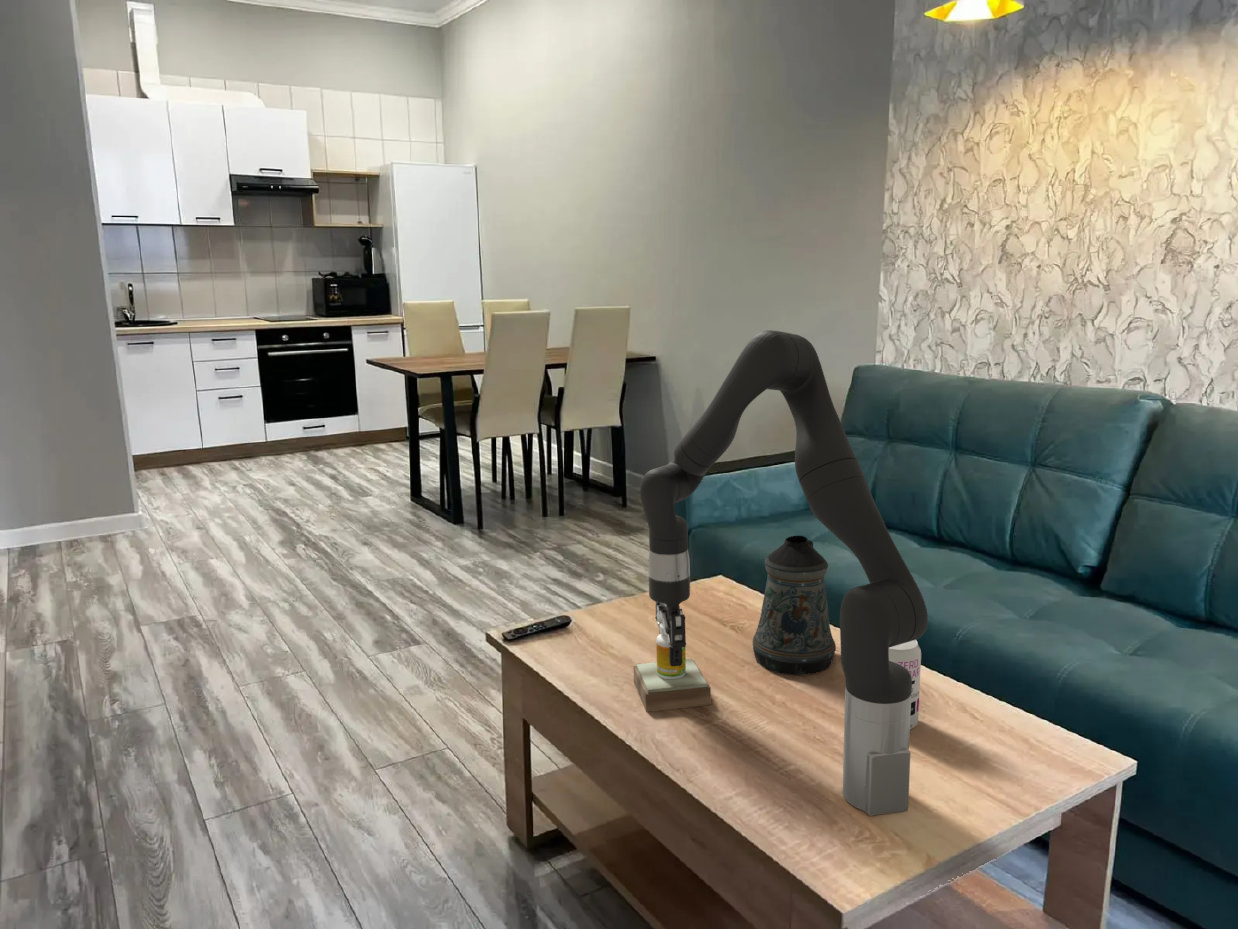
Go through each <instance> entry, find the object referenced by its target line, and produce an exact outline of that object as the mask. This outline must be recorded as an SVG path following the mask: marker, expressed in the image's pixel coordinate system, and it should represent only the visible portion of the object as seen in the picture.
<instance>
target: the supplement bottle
mask: <svg viewBox="0 0 1238 929" xmlns="http://www.w3.org/2000/svg"><path fill="white" fill-rule="evenodd" d="M668 629H671V628H668ZM660 633H661V634H659V633H658V636H657V637H656V642H655V643H656V644H655V645H656V662H657V674H658V675H659V676H660V677H661V678H664V679H679V678H681V677H683V676H684V675H685V673H686V659H687V658H686V657H687V656H686V647H682V665H681V666H671V665H670V661H669V644H668V643H669V641H668V636H666V635H665V633H664V626H663V623H661V624H660ZM675 640H679V637H678V635H676V636H675Z"/></svg>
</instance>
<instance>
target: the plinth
mask: <svg viewBox="0 0 1238 929" xmlns="http://www.w3.org/2000/svg"><path fill="white" fill-rule="evenodd" d="M633 684H634V686H635V688H636V690H637V694H638V696H639V697H640V700H641V702H642V705H643V708H644V710H645V712H646V713H649V712H659V711H667V710H676V709H686V708H696V707H703V706H711V705H712V700H711V699H712V698H711V697H712V696H711V695H712V694H711V692H712V689H711V686H710V683H708V681H707V679H706V678H705V676H704V674H703V673H702V671H701V669H700V668H699V666H698V664H697V663H696V661H695V659H693V658H686V673H685V675H684V676H683V677H681V678H679V679H664V678H661V677H660V676H659V675H658V674H657V661H655V662H647V663H637V664H636V665H634V666H633Z"/></svg>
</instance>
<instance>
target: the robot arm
mask: <svg viewBox="0 0 1238 929" xmlns="http://www.w3.org/2000/svg"><path fill="white" fill-rule="evenodd" d="M821 364H822V363H821V361H820V358H819V356H818V353H817V350H816V349H815V347H814V346H813V344H812V342H810V340H809V339H807V338H805V337H804V336H801V335H799V334H796V333H790V332H785V331H780V330H772V329H770V330H763V331H759V332H758V333H756V334H755V335H754V336H753V337H752V338H750V340H749V341H748V342H747V344H745V347H744V348H743V349H742V350H741V352H740V354H739V355H738V357H737V359H736V361H735V362H734V364H733V366H732V367H731V370H730V371H729V373H728V375H726V377H725V379H724V381H723V382H722V384H721V386H720V387H719V389H718V390H717V392H716V394H715V395H714V397H713V399H712V400H711V402H710V403H709V405H708V407H707V408H706V409H705V411H704V412H703V413H702V415H701V416H699V418H698V419H697V420H696V422H695V423H694V424H693V425H692V426H691V427H690V429H689V430H688V431H687V432H686V433H685V434H684V436H683V437H682V438H681V439H680V440H679V441H678V443H677V444H676V446H675V448H674V451H673V456H674V458H673V459H672V460H671V461H670V462H669V463H668V464H666V465H662V466H659V467H655V468H653V469H650V470H648V471H647V472H646V473H645V474H644V475H643V477H642V479H641V483H640V489H639V495H640V500H641V505H642V508H643V512H644V516H645V520H646V523H647V524H648V529H649V530H648V531H649V532H648V538H649V539H648V541H649V543H648V545H649V551H648V552H649V554H648V564H647V565H648V595H649V598H650V599H651V600H652V601H653V602H655V620H656V622H657V627H658V635H659V634H661V633H660V624H661V623H663V626H664V633H665V635H666V636H668V641H669V643H668V644H669V661H670V665H671V666H681V665H682V647H685V648H686V645H687V642H686V640H687V639H686V636H687V635H686V616H685V614H683V608H681V607H680V604H681V603H682V602H686V601H687V600H688V599H689V598H690V596H691V571H690V570H691V569H690V568H691V566H690V561H691V560H690V554H689V530H688V529H689V528H688V523H687V520H686V519H685V518H683V517H682V516H679V515H677V514H676V511H675V504H676V503H677V504H678V503H679V502H682V501H685V500H686V499H688V498H689V497H690V496H691V495H693V493H694V492H695V491H696V490H697V489H698V487H699V486H700V484H701V483H702V481H703V480H704V478H705V476H706V475H707V474H706V473H707V471H709V470H710V469H711V467H712V466H713V465H715V463H716V462H717V461H718V460H719V459H720V458H721V457H722V456H723V454H724V453H725V452H726V451H727V450H728V449H729V447H730V446H731V444H732V443H733V441H734V439H735V437H736V434H737V430H738V426H739V423H740V420H741V418H742V415H743V413H744V412H745V410H746V409H747V408H748V407H749V405H750V404H751V403H752V402H753V401H754V400H755V399H757V398H758V397H759V396H760V395H761V394H762V393H764V392H765V391H766V390H772V391H779V392H781V394H782V396H783V397H784V400H785V401H786V404H787V406H788V408H789V410H790V413H791V415H792V417H793V421H794V424H795V430H796V431H795V432H796V433H795V434H796V436H795V437H796V439H795V447H794V448H795V450H794V466H795V467H794V470H795V472H796V477H797V480H798V482H799V485H800V487H801V489H802V493H803V495H804V498H805V500H806V502H807V505H808V506H809V509H810V510H811V512H812V514H813V515H814V516H815V517H816V519H817V520H819V522H820V523H821V524H822V525H823V526H825V528H827V529H828V530H829V531H830V532H831V533H832V534H833V535H834V536H835V537H836V538H838V540H840V541H841V542H842V543H843V544H844V545H845V546H846V547H847V548H848V549H849V550H850V551H851V552H852V553H853V554H854V555H855V557H856V559H857V560H858V561H859V563H860V565H861V567H862V569H863V571H864V574H865V575H866V577H867V579H868V582H869V583H868V584H863V585H860V586H856V587H852V588H850V589H849V590H848V591H846V593H845V594H844V596H843V598H842V600H841V603H840V604H841V605H840V610H839V634H840V636H839V637H840V638H839V639H840V640H839V642H840V664H841V667H842V672H843V674H844V677H845V678H844V679H845V684H844V685H845V686H844V687H845V688H844V689H845V690H844V692H845V693H844V722H843V723H844V724H843V725H844V726H843V757H842V758H843V760H842V763H843V764H842V795H843V798H844V799H845V800H846V802H847V803H849V804H850V805H852V806H853V807H854V808H856V809H859V810H861V811H863V812H865V813H866V814H867V816H871V817H872V816H876V815H878V816H879V815H884V814H892V813H898V812H907V811H909V800H910V799H909V798H910V796H909V795H910V777H911V776H910V775H911V756H912V754H911V751H910V736H911V734H910V731H911V730H910V713H911V693H912V677H911V674H910V673H909V671H908V670H907V669H906V668H904V667H903V666H901V665H899V664H897V663H894V662H892V661H889V647H893V646H896V645H900V644H903V643H907V642H910V641H913V640H916V641H917V640H919V639H921V638H922V636H923V635H924V634H925V633H926V631H927V627H928V623H929V616H928V609H927V606H926V601H925V600H924V596H923V594H922V592H921V590H920V588H919V585H918V584H917V582H916V580H915V578H914V576H913V575H912V572H911V571H910V569H909V567H908V566H907V564H906V562H905V560H904V559H903V557H902V555H901V553H900V552H899V550H898V548H897V545H896V544H895V542H894V541H893V538H892V537H891V534H890V533H889V530H888V528H887V526H886V523H885V522H884V519H883V518H882V515H881V513H880V511H879V509H878V507H877V505H876V502H875V499H874V498H873V495H872V493H871V490H870V488H869V485H868V482H867V480H866V477H865V474H864V472H863V470H862V468H861V465H860V463H859V461H858V458H857V457H856V454H855V452H854V450H853V448H852V446H851V444H850V442H849V438H848V437H847V434H846V431H845V429H844V427H843V425H842V422H841V419H840V416H839V415H838V412H837V409H836V408H835V406H834V403H833V400H832V396H831V394H830V391H829V387H828V384H827V380H826V377H825V374H824V370H823V367H822V365H821ZM668 628H671V629H668ZM676 635H678V637H679V640H675V636H676Z"/></svg>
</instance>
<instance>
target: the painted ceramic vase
mask: <svg viewBox="0 0 1238 929" xmlns="http://www.w3.org/2000/svg"><path fill="white" fill-rule="evenodd" d="M764 567H765V570H766V573H767V577H766V584H765V590H764V596H763V600H762V606H761V609H760V610H761V611H760V616H759V621H758V624H757V628H756V632H754V635H753V638H752V650H753V654H754V658H755V661H756V663H757V664H759V665H760V666H761V667H763V668H764V669H765V670H769V671H772V672H775V673H778V674H783V675H790V676H791V675H792V676H799V677H800V676H806V675H813V674H819V673H821V672H823V671H825V670H827V669H829V668H831V666H832V663H833V660H834V656H835V653H836V649H837V648H836V647H837V646H836V641H835V640H834V637H833V634H832V631H831V625H830V617H829V606H828V599H827V591H826V585H825V575H826V574H827V573H828V568H829V563H828V561H827V560H826V558H825V557H824V556H823V555H821V553H820V552H818V551H817V550H816V549H815V547H814V542H813V541H812V540H809V539H808V538H807V537H806V536H804V535H792V536H788V537H786V538H785V540H784V543H783V544H782V545H780V546H779V547H778V548H777V549H774V550H773V551H772V552H771V553H769V555H768V556H767V557H766V558H765V560H764Z"/></svg>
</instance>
